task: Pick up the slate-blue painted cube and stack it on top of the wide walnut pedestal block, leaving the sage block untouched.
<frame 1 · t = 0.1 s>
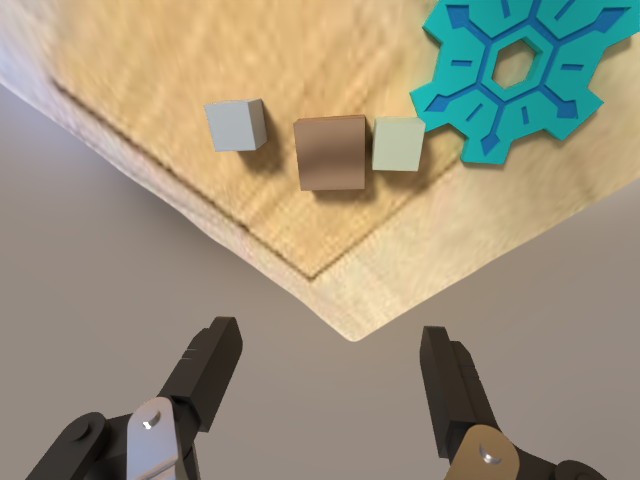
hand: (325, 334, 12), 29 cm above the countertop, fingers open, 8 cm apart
sage block: (417, 143, 33), point 2 cm above the countertop, tilted 90°
decorative ornament: (507, 65, 31), on the countertop
walnut base: (333, 149, 37), on the countertop
slate cube: (245, 121, 36), on the countertop
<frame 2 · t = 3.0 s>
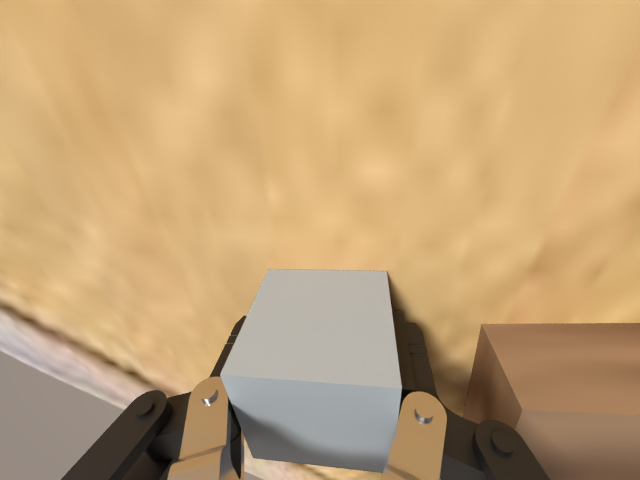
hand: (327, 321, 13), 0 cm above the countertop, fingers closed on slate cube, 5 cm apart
walnut base: (555, 377, 14), on the countertop
slate cube: (329, 313, 13), on the countertop, touching gripper
when the fingers open (5 cm above the countertop, at t = 7.8 s): slate cube drops 1 cm, point 4 cm above the countertop.
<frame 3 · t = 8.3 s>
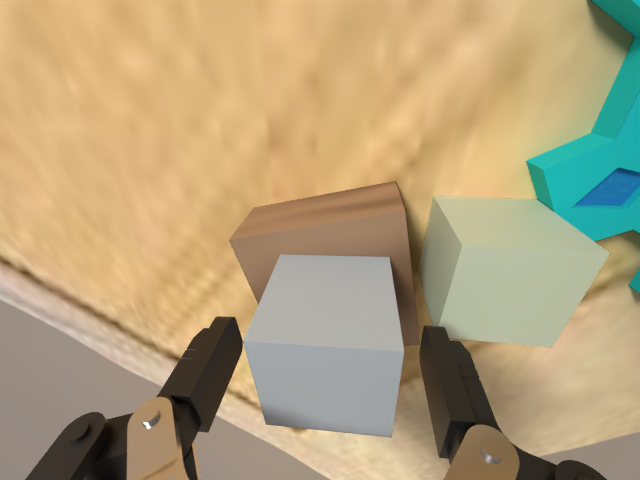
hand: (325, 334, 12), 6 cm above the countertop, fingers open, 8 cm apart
sage block: (543, 268, 13), point 2 cm above the countertop, tilted 90°
walnut base: (336, 252, 18), on the countertop
slate cube: (334, 297, 14), point 4 cm above the countertop
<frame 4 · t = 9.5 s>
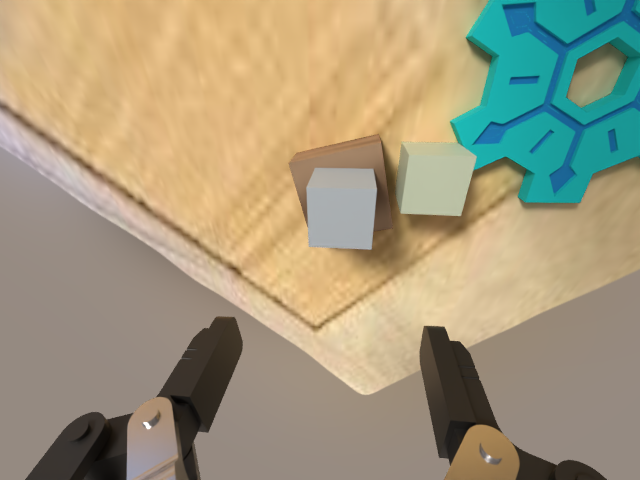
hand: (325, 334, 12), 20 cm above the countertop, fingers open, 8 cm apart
sage block: (459, 178, 25), point 2 cm above the countertop, tilted 90°
decorative ornament: (584, 76, 23), on the countertop
walnut base: (344, 182, 29), on the countertop, touching slate cube
slate cube: (343, 195, 26), point 4 cm above the countertop, touching walnut base
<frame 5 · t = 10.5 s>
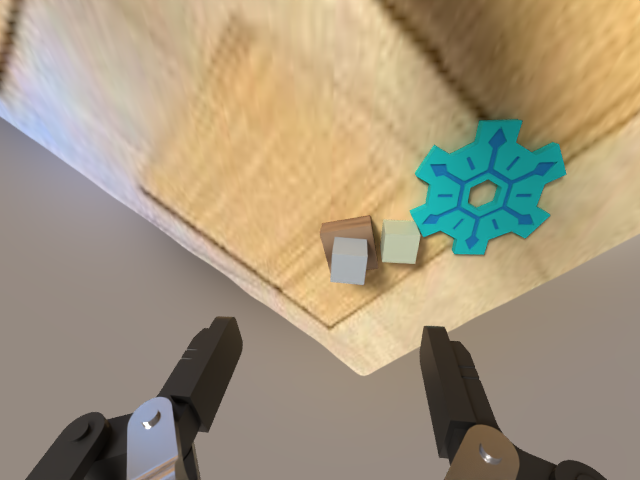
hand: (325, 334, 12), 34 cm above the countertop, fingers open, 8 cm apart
sage block: (414, 241, 45), point 2 cm above the countertop, tilted 90°
decorative ornament: (479, 191, 43), on the countertop
walnut base: (350, 239, 49), on the countertop
slate cube: (349, 251, 46), point 4 cm above the countertop
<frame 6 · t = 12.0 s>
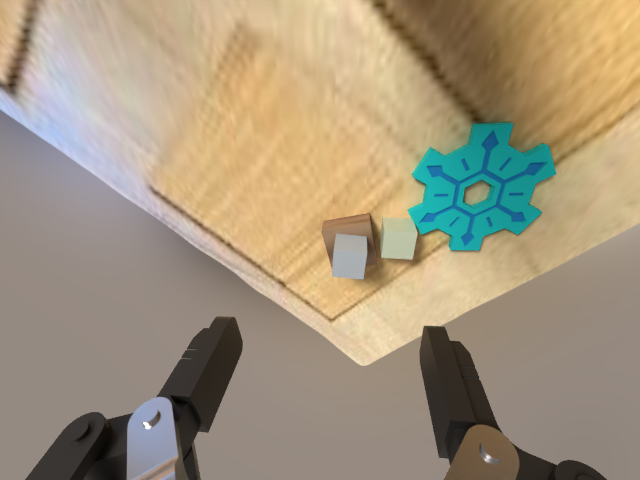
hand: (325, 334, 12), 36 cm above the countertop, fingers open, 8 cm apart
sage block: (412, 238, 47), point 2 cm above the countertop, tilted 90°
decorative ornament: (473, 190, 45), on the countertop
walnut base: (350, 235, 51), on the countertop, touching slate cube
slate cube: (350, 247, 48), point 4 cm above the countertop, touching walnut base
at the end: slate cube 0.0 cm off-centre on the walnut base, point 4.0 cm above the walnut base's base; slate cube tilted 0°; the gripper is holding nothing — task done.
